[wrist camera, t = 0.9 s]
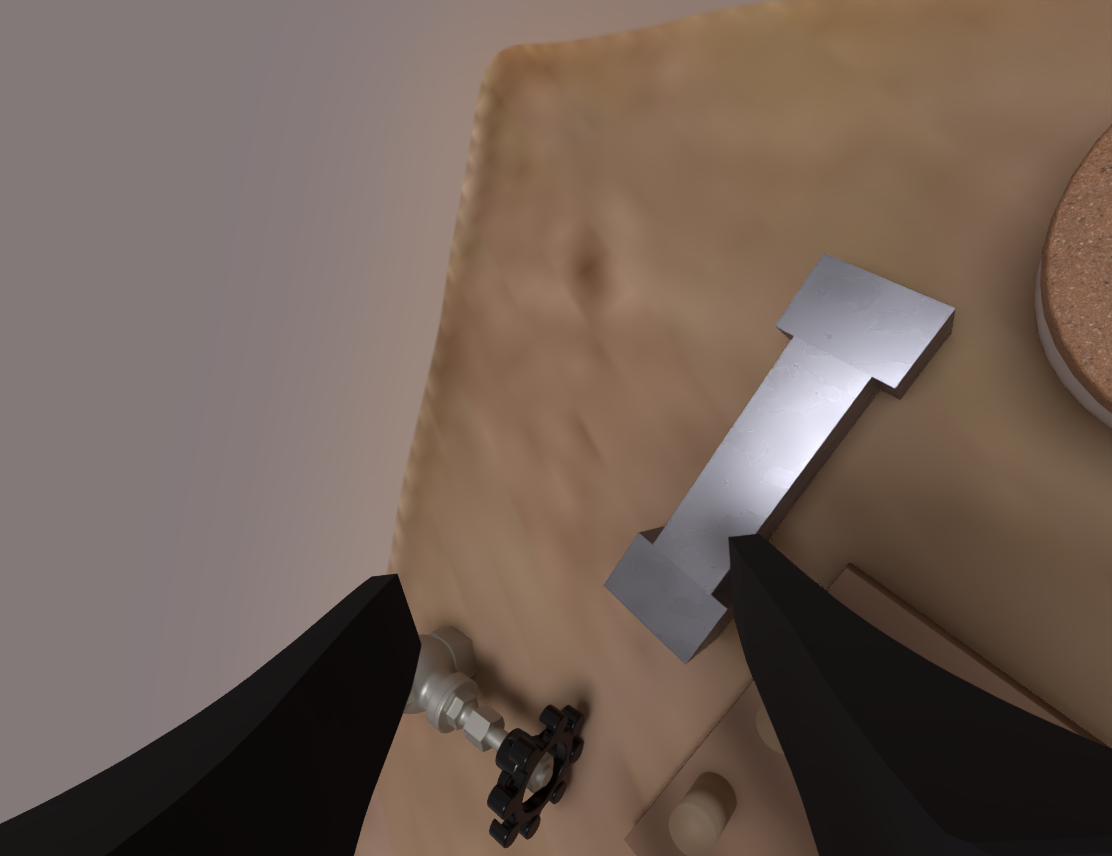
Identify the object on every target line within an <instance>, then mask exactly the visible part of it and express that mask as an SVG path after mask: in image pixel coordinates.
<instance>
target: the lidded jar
mask: <svg viewBox="0 0 1112 856" xmlns="http://www.w3.org/2000/svg"><path fill="white" fill-rule="evenodd" d="M1035 314H1036V321H1037V328H1038V335H1039V338H1040V341H1041V344H1042V346H1043V349H1044V352H1045V355H1046V357H1047V360H1048V362H1049V363H1050V365H1051V367H1052V368H1053V370H1054V372H1055V373H1056V375H1057V376H1058V378H1059V380H1060V381H1061V383H1062V384H1063V386H1064V387H1065V388H1066V389H1067V390H1068V391H1069V392H1070V393H1071V394H1072V396H1073V397H1074V398H1075V399H1076V400H1077V401H1078V402H1079V403H1080V404H1081V405H1082V407H1084V408H1085V409H1086V410H1087V411H1089V412H1090V413H1091V414H1092V415H1094V416H1095V417H1096V418H1097V419H1099V420H1100V421H1101V422H1102V423H1104V424H1105V425H1106V426H1107V427H1109V428H1111V429H1112V125H1111V126H1110V127H1109V128H1108V129H1107V130H1106V131H1105V132H1104V133H1103V134H1102V136H1101V137H1100V138H1099V139H1098V140H1097V141H1096V142H1095V144H1094V145H1093V147H1092V148H1091V150H1090V151H1089V152H1088V154H1087V155H1086V157H1085V158H1084V160H1083V161H1082V162H1081V164H1080V165H1079V167H1078V168H1077V170H1076V171H1075V172H1074V174H1073V175H1072V177H1071V179H1070V181H1069V183H1068V185H1067V187H1066V189H1065V191H1064V193H1063V195H1062V197H1061V199H1060V201H1059V203H1058V206H1057V208H1056V210H1055V212H1054V214H1053V216H1052V219H1051V222H1050V226H1049V229H1048V233H1047V236H1046V240H1045V243H1044V247H1043V251H1042V257H1041V261H1040V264H1039V268H1038V271H1037V276H1036V290H1035Z"/></svg>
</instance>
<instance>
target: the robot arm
mask: <svg viewBox="0 0 1112 856" xmlns="http://www.w3.org/2000/svg"><path fill="white" fill-rule="evenodd" d="M728 541H729V556H730V570H731V584H732V599H733V613H734V619H735V622H736V626H737V630H738V633H739V637H740V641H741V644H742V648H743V651H744V655H745V658H746V661H747V664H748V667H749V669H750V672H751V674H752V677H753V679H754V682H755V684H756V686H757V689H758V691H759V694H760V696H761V699H762V701H763V704H764V706H765V708H766V711H767V713H768V716H769V718H770V721H771V723H772V725H773V728H774V730H775V733H776V735H777V738H778V740H779V743H780V745H781V747H782V750H783V752H784V755H785V757H786V760H787V762H788V764H789V767H790V769H791V772H792V775H793V777H794V780H795V783H796V785H797V788H798V791H799V794H800V796H801V799H802V802H803V806H804V809H805V812H806V815H807V818H808V822H809V825H810V828H811V831H812V835H813V838H814V841H815V844H816V847H817V851H818V854H819V856H1112V748H1109V747H1107V746H1104V745H1102V744H1099V743H1097V742H1094V741H1092V740H1090V739H1087V738H1085V737H1083V736H1080V735H1078V734H1076V733H1074V732H1071V731H1069V730H1067V729H1065V728H1063V727H1060V726H1058V725H1056V724H1054V723H1051V722H1049V721H1047V720H1045V719H1042V718H1040V717H1038V716H1036V715H1033V714H1031V713H1029V712H1027V711H1025V710H1023V709H1021V708H1019V707H1017V706H1015V705H1013V704H1010V703H1008V702H1006V701H1004V700H1002V699H1000V698H998V697H996V696H994V695H992V694H990V693H988V692H986V691H984V690H983V689H981V688H979V687H977V686H975V685H973V684H971V683H969V682H967V681H965V680H963V679H962V678H960V677H958V676H956V675H954V674H952V673H950V672H948V671H947V670H945V669H943V668H941V667H939V666H938V665H936V664H934V663H932V662H931V661H929V660H927V659H925V658H924V657H922V656H921V655H919V654H917V653H916V652H914V651H912V650H911V649H909V648H907V647H906V646H904V645H902V644H901V643H899V642H898V641H896V640H894V639H893V638H891V637H889V636H888V635H886V634H885V633H883V632H882V631H880V630H879V629H877V628H876V627H874V626H873V625H871V624H870V623H869V622H867V621H866V620H864V619H863V618H862V617H860V616H859V615H857V614H856V613H855V612H853V611H852V610H850V609H849V608H848V607H846V606H845V605H844V604H842V603H841V602H840V601H838V600H837V599H836V598H835V597H833V596H832V595H831V594H830V593H828V592H827V591H826V590H825V589H823V588H822V587H821V586H819V585H818V584H817V583H816V582H814V581H813V580H812V579H811V578H810V577H808V576H807V575H806V574H805V573H804V572H802V571H801V570H800V569H799V568H798V567H797V566H795V565H794V564H793V563H792V562H791V561H790V560H789V559H787V558H786V557H785V556H784V555H783V554H782V553H781V552H779V551H778V550H777V549H776V548H775V547H774V546H773V545H772V544H771V543H769V542H768V541H767V540H766V539H765V538H764V537H762V536H761V535H760V534H751V535H742V536H733V537H728ZM421 646H422V644H421V641H420V638H419V635H418V632H417V630H416V627H415V624H414V621H413V618H412V615H411V612H410V609H409V606H408V603H407V600H406V597H405V595H404V592H403V589H402V586H401V583H400V580H399V577H398V574H390V575H381V576H373V577H370V578H369V579H368V580H366V581H365V582H364V583H362V584H361V585H360V586H359V587H357V588H356V589H355V590H354V591H352V592H351V593H350V594H349V595H348V596H346V597H345V598H344V599H343V600H342V601H341V602H339V603H338V604H337V605H336V606H335V607H334V608H332V609H331V610H330V611H329V612H328V613H327V614H325V615H324V616H323V617H322V618H321V619H320V620H318V621H317V622H316V623H315V624H314V625H312V626H311V627H310V628H309V629H308V630H307V631H305V632H304V633H303V634H302V635H301V636H300V637H298V638H297V639H296V640H295V641H294V642H292V643H291V644H290V645H289V646H287V647H286V648H285V649H284V650H282V651H281V652H280V653H279V654H277V655H276V656H275V657H274V658H272V659H271V660H270V661H269V662H267V663H266V664H265V665H264V666H262V667H261V668H260V669H259V670H257V671H256V672H255V673H253V674H252V675H251V676H250V677H249V678H247V679H246V680H244V681H243V682H242V683H240V684H239V685H238V686H236V687H235V688H234V689H232V690H231V691H229V692H228V693H227V694H225V695H224V696H222V697H221V698H219V699H218V700H217V701H215V702H214V703H212V704H211V705H209V706H208V707H206V708H205V709H204V710H202V711H201V712H199V713H198V714H196V715H195V716H193V717H192V718H190V719H189V720H187V721H186V722H184V723H182V724H181V725H179V726H178V727H176V728H174V729H173V730H171V731H170V732H168V733H166V734H165V735H163V736H161V737H160V738H158V739H157V740H155V741H153V742H152V743H150V744H149V745H147V746H145V747H144V748H142V749H140V750H139V751H137V752H136V753H134V754H132V755H131V756H129V757H127V758H125V759H124V760H122V761H120V762H119V763H117V764H115V765H113V766H111V767H110V768H108V769H106V770H104V771H102V772H101V773H99V774H97V775H95V776H94V777H92V778H90V779H88V780H86V781H84V782H82V783H81V784H79V785H77V786H75V787H73V788H71V789H69V790H67V791H65V792H64V793H62V794H60V795H58V796H56V797H54V798H52V799H50V800H48V801H46V802H44V803H42V804H40V805H38V806H36V807H34V808H32V809H30V810H28V811H26V812H24V813H22V814H20V815H18V816H16V817H14V818H12V819H9V820H8V821H5V822H3V823H1V824H0V856H354V853H355V850H356V846H357V842H358V839H359V835H360V832H361V828H362V824H363V821H364V818H365V815H366V812H367V809H368V806H369V803H370V800H371V797H372V794H373V791H374V789H375V786H376V784H377V781H378V778H379V776H380V773H381V770H382V768H383V765H384V762H385V760H386V757H387V754H388V752H389V749H390V747H391V744H392V741H393V739H394V736H395V733H396V731H397V728H398V725H399V723H400V720H401V717H402V715H403V712H404V709H405V706H406V704H407V701H408V698H409V695H410V692H411V690H412V686H413V682H414V678H415V674H416V670H417V665H418V660H419V656H420V651H421Z"/></svg>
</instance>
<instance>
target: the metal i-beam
mask: <svg viewBox="0 0 1112 856" xmlns="http://www.w3.org/2000/svg"><path fill="white" fill-rule="evenodd" d="M954 314H955V308H954V307H951V306H949V305H946V304H944V303H942V302H939V301H937V300H934V299H932V298H930V297H927V296H925V295H922V294H920V293H918V292H915V291H913V290H911V289H908V288H906V287H903V286H901V285H899V284H896V283H894V282H891V281H889V280H887V279H884V278H882V277H880V276H877V275H875V274H872V273H870V272H868V271H865V270H863V269H860V268H858V267H856V266H853V265H851V264H849V263H846V262H844V261H841V260H839V259H837V258H834V257H832V256H829V255H827V254H825V253H824V254H823V255H822V257H821V258H820V260H819V261H818V263H817V264H816V266H815V267H814V269H813V270H812V272H811V273H810V275H809V276H808V278H807V279H806V281H805V282H804V284H803V285H802V287H801V288H800V290H799V291H798V293H797V294H796V296H795V297H794V299H793V300H792V302H791V303H790V305H789V306H788V308H787V309H786V311H785V312H784V314H783V315H782V317H781V318H780V320H779V321H778V323H777V324H776V326H775V327H777V328H778V329H779V330H780V331H781V332H782V333H783V334H784V335H786V336H787V337H788V338H789V339H790V340H791V341H790V343H789V344H788V346H787V347H786V349H785V350H784V352H783V353H782V355H781V356H780V358H779V359H778V361H777V362H776V363H775V365H774V366H773V368H772V369H771V371H770V372H769V374H768V375H767V377H766V378H765V380H764V381H763V383H762V384H761V386H760V387H759V389H758V390H757V392H756V393H755V395H754V396H753V397H752V399H751V400H750V402H749V403H748V405H747V406H746V408H745V409H744V411H743V412H742V414H741V415H740V417H739V418H738V420H737V421H736V423H735V424H734V426H733V427H732V428H731V430H730V431H729V433H728V434H727V436H726V437H725V439H724V440H723V442H722V443H721V445H720V446H719V448H718V449H717V451H716V452H715V454H714V455H713V457H712V458H711V459H710V461H709V462H708V464H707V465H706V467H705V468H704V470H703V471H702V473H701V474H700V476H699V477H698V479H697V480H696V482H695V483H694V485H693V486H692V488H691V489H690V490H689V492H688V493H687V495H686V496H685V498H684V499H683V501H682V502H681V504H680V505H679V507H678V508H677V510H676V511H675V513H674V514H673V516H672V517H671V519H670V520H669V521H668V523H667V524H666V526H664V527H660V528H656V529H652V530H648V531H643V532H639V533H638V534H637V536H636V537H635V539H634V540H633V542H632V543H631V545H630V546H629V548H628V549H627V551H626V552H625V554H624V555H623V557H622V558H621V560H620V561H619V563H618V564H617V566H616V567H615V569H614V570H613V572H612V573H611V575H610V576H609V578H608V579H607V581H606V582H605V584H604V586H605V587H606V588H607V589H608V590H609V591H610V592H611V593H612V594H613V595H614V596H615V597H616V598H617V599H618V600H619V601H620V602H621V603H622V604H623V605H624V606H625V607H626V608H627V609H629V610H630V611H631V612H632V613H633V614H634V615H635V616H636V617H637V618H638V619H639V620H640V621H641V622H642V623H643V624H644V625H645V626H646V627H647V628H648V629H649V630H650V631H651V632H652V633H653V634H654V635H655V636H656V637H657V638H658V639H659V640H661V641H662V642H663V643H664V644H665V645H666V646H667V647H668V648H669V649H670V650H671V651H672V652H673V653H674V654H675V655H676V656H677V657H678V658H679V659H680V660H681V661H682V662H683V663H684V664H687V663H688V662H689V661H690V660H691V659H693V658H694V657H695V656H696V655H697V654H699V653H700V652H701V651H702V650H704V649H705V648H706V647H707V646H708V645H710V644H711V643H712V642H713V641H714V640H716V639H717V638H718V637H719V635H720V634H721V633H722V631H723V630H724V629H725V627H726V626H727V625H728V624H729V622H730V621H731V620H732V618H733V617H734V613H733V599H732V584H731V570H730V556H729V541H728V537H733V536H742V535H751V534H760V535H761V536H762V537H764V538H765V539H766V540H768V539H769V537H770V536H771V535H772V533H773V532H774V531H775V529H776V528H777V527H778V525H779V524H780V523H781V521H782V520H783V519H784V517H785V516H786V515H787V513H788V512H789V511H790V509H791V508H792V507H793V505H794V504H795V503H796V501H797V500H798V499H799V497H800V496H801V495H802V493H803V492H804V491H805V489H806V488H807V487H808V485H809V484H810V483H811V481H812V480H813V479H814V477H815V476H816V475H817V473H818V472H819V471H820V469H821V468H822V467H823V465H824V464H825V463H826V461H827V460H828V459H829V457H830V456H831V455H832V453H833V452H834V451H835V449H836V448H837V447H838V445H839V444H840V443H841V441H842V440H843V439H844V437H845V436H846V435H847V433H848V432H849V431H850V429H851V428H852V427H853V425H854V424H855V423H856V421H857V420H858V419H859V417H860V416H861V415H862V413H863V412H864V411H865V409H866V408H867V407H868V405H869V404H870V403H871V401H872V400H873V399H874V397H875V396H876V395H877V393H878V392H879V391H880V389H881V390H883V391H885V392H886V393H888V394H890V395H892V396H894V397H896V398H898V399H901V398H902V397H903V395H904V394H905V393H906V391H907V390H908V389H909V388H910V386H911V385H912V384H913V382H914V381H915V380H916V378H917V377H918V376H919V374H920V373H921V372H922V371H923V369H924V368H925V367H926V365H927V364H928V363H929V361H930V360H931V359H932V358H933V356H934V355H935V354H936V352H937V351H938V350H939V348H940V347H941V346H942V344H943V343H944V342H945V341H946V339H947V338H948V337H949V335H950V334H951V332H952V326H953V320H954Z"/></svg>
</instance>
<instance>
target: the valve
mask: <svg viewBox="0 0 1112 856" xmlns="http://www.w3.org/2000/svg"><path fill="white" fill-rule="evenodd" d="M419 638H420V641H421V644H422V646H421V651H420V656H419V660H418V665H417V670H416V674H415V678H414V682H413V686H412V690H411V692H410V695H409V698H408V701H407V704H406V706H405V709H404V712H403V713H405V714H415V713H420V712H423V711H426V717H427V720H428V722H429V723H430V724H432V725H433V726H434V727H435V728H436V729H437V730H439V731H440V732H441V733H449V732H452V731H454V730H455V729H456V730H459V729H462V728H463V729H464V732H465V736H466V739H468V740H469V741H470V742H471V743H472V744H473V745H475V746H476V747H477V748H478V749H479V750H481V751H482V752H485V751H488V750H490V749H491V748H493V749H495V750H496V751H497V754H496V760H495V761H496V765H497V766H498V767H499V768H500V769H501V770H502V772H501V774H500V776H499V778H498V782H497V785H496V786H495V787H494V788H493V789H492V791H491V793H490V794H489V797H488V800H487V805H488V807H489V808H490V809H491V810H493V811H494V812H495V813H496V814H497V815H498V816H499V817H500V818H501V819H503V820H504V822H503V823H502V824H500V823H499V822H498V821H497V820H496V819H494V820H493V821H492V823H491V826H490V829H489V834H490V835H491V836H492V837H493V838H494V839H495V840H496V841H497V842H498V843H499V844H500V845H501V846H502V847H504V848H508V847H509V846H510V845H511V844H512V843H513V842H514V840H515V839H516V837H517V835H518V833H520V834H521V835H522V836H523V837H524V838H525V839H530V838H531V837H532V836H533V835H534V834H535V832H536V831H537V829H538V827H539V824H540V820H541V818H540V816H539V815H540V813H541V811H542V809H543V808H544V806H545V805H546V804H547V803H548V801H550V802H551V803H553V804H556V803H558V802H559V801H560V799H561V798H562V796H563V794H564V792H565V789H566V783H565V782H564V781H563V780H562V778H563V775H564V773H565V771H566V768H567V767H568V765H569V764H570V763H574V762H576V761H577V760H578V758H579V757H580V755H581V753H582V750H583V742H582V741H580V740H579V739H577V738H576V737H575V735H577V734H578V732H579V731H580V730H581V728H582V726H583V723H584V719H585V718H584V715H583V714H582V713H580V712H579V711H578V710H576V709H575V708H573V707H572V706H570V705H567V706H565V707H564V708H563V710H562V711H560V710H559V709H558V708H556V707H555V706H553V705H548V706H547V707H546V708H545V709H544V710H543V712H542V714H541V716H540V718H539V721H541V722H542V723H543V724H545V725H546V729H545V730H544V731H543V732H541V733H540V734H539V735H535V736H530V735H529V734H528V733H526V732H525V731H523V730H521V729H520V728H516V729H514V730H512V731H511V732H510V733H508V732H507V731H505V730H504V727H505V723H504V719H503V717H502V716H501V715H500V714H499V713H497V712H496V711H495V710H493V709H492V708H491V707H490V706H488V705H487V704H486V703H485V704H483V705H481V706H480V707H478V705H479V704H478V700H477V695H478V687H477V684H476V682H475V681H473V680H472V679H471V678H472V677H473V676H474V675H475V674H476V664H475V657H474V651H473V644H472V640H471V639H469V638H468V637H466V636H465V635H464V634H462V633H461V632H459V631H458V630H456V629H455V628H453V627H452V626H450V627H447V628H444V629H441V630H438V631H435V632H433V633H432V634H431V635H419ZM552 756H553V757H554V760H553V757H552ZM526 788H528V789H529V790H530V791H531V792H532V793H534V794H533V795H532V796H531V797H530V798H529V799H528V800H527V801H525V802H524V803H522V801H523V796H524V792H525V789H526Z"/></svg>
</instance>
